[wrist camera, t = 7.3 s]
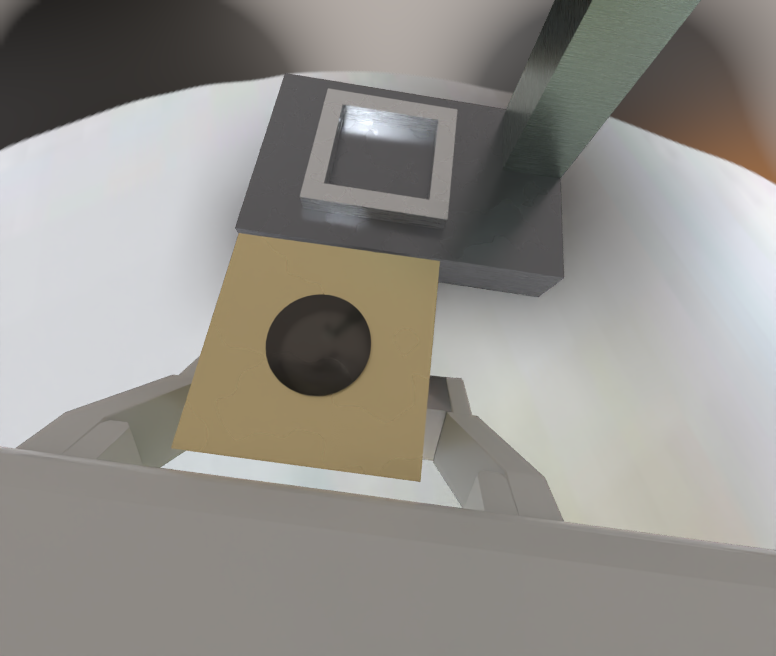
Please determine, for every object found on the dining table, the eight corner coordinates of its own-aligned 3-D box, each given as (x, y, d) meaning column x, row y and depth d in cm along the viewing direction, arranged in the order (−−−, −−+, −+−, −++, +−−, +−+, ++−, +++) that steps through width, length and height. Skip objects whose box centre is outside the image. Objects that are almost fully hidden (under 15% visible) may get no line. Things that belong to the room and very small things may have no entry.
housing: (402, 353, 15) (441, 257, 7) (391, 448, 14) (421, 483, 5) (312, 340, 15) (236, 228, 7) (293, 435, 14) (165, 448, 5)
